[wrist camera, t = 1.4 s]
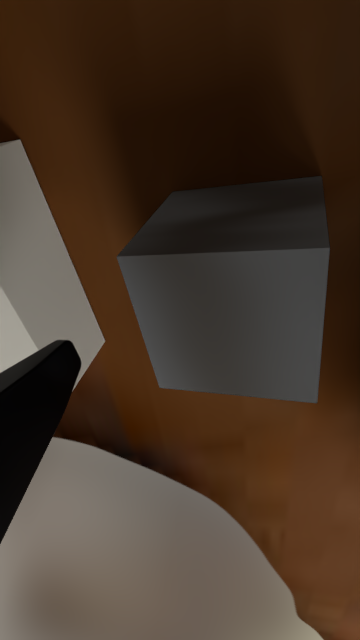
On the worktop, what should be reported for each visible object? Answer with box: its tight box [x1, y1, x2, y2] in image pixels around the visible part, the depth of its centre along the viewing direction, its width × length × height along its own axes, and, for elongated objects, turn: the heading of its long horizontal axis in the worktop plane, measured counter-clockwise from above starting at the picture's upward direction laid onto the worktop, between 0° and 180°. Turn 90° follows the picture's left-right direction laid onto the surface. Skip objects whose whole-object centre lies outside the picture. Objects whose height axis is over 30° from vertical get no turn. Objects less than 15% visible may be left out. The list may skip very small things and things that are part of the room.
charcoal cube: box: [117, 176, 330, 403], centre depth 11 cm, size 5×5×5 cm
